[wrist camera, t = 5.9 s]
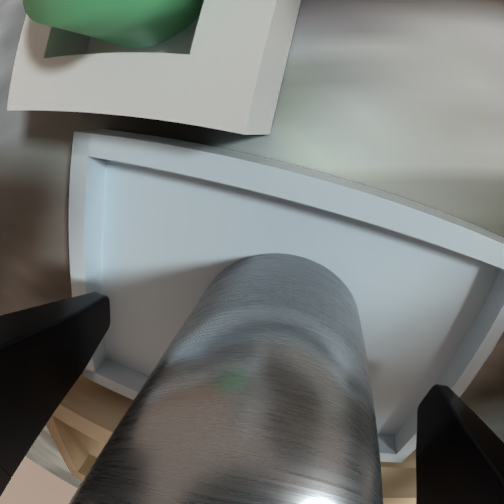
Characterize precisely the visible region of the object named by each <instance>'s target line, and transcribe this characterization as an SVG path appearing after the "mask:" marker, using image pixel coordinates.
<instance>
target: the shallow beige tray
mask: <svg viewBox="0 0 504 504" xmlns="http://www.w3.org/2000/svg"><path fill="white" fill-rule="evenodd" d="M132 402H133V400H132V399H130V398H128V397H125V396H123V395H121V394H119V393H117V392H114V391H112V390H110V389H108V388H106V387H104V386H102V385H100V384H98V383H96V382H94V381H92V380H90V379H88V378H86V377H84V375H83V373H82V374H81V375H80V377H79V378H78V380H77V381H76V382H75V384H74V385H73V386H72V388H71V389H70V391H69V392H68V393H67V395H66V396H65V398H64V399H63V400H62V402H61V403H60V405H59V406H58V408H57V409H56V410H55V412H54V413H53V415H52V416H51V418H50V419H49V421H48V422H47V424H46V425H47V427H48V429H49V432H50V434H51V436H52V438H53V440H54V442H55V444H56V446H57V448H58V450H59V452H60V454H61V456H62V457H63V459H64V461H65V463H66V465H67V467H68V468H69V470H70V472H71V474H72V475H73V476H75V477H77V478H78V479H80V480H82V481H83V480H84V478H85V476H86V475H87V473H88V472H89V470H90V468H91V467H92V465H93V464H94V462H95V460H96V459H97V457H98V456H99V454H100V452H101V451H102V449H103V448H104V446H105V444H106V443H107V441H108V440H109V438H110V437H111V435H112V433H113V432H114V430H115V429H116V427H117V425H118V424H119V422H120V421H121V419H122V418H123V416H124V414H125V413H126V411H127V410H128V408H129V407H130V405H131V403H132ZM380 464H381V477H382V493H383V504H416V451H413V452H412V453H411V454H410V455H409V456H408V457H407V458H406V459H405V460H404V461H403V462H402V463H395V462H380Z"/></svg>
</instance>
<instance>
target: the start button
mask: <svg viewBox="0 0 504 504" xmlns="http://www.w3.org/2000/svg"><path fill="white" fill-rule="evenodd" d="M203 2H204V0H23V5H24V9H25V11H26V13H27V15H28V16H29V18H30V19H31V20H33V21H34V22H36V23H39V24H42V25H47V26H51V27H55V28H59V29H63V30H67V31H71V32H75V33H78V34H82V35H86V36H89V37H92V38H96V39H99V40H102V41H106V42H109V43H112V44H115V45H118V46H121V47H126V48H145V47H150V46H153V45H157V44H160V43H162V42H164V41H167V40H169V39H170V38H172V37H174V36H176V35H177V34H179V33H180V32H182V31H183V30H185V29H186V28H187V27H188V26H190V25H191V24H192V23H193V22H194V21H195V20H196V19H197V18H198V17H199V16H200V13H201V9H202V6H203Z"/></svg>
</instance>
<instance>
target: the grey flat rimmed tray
mask: <svg viewBox="0 0 504 504" xmlns="http://www.w3.org/2000/svg"><path fill="white" fill-rule="evenodd" d="M267 253H282V254H291V255H296V256H301V257H304V258H307V259H309V260H312V261H314V262H316V263H318V264H321V265H323V266H324V267H326V268H327V269H329V270H330V271H332V272H333V273H334V274H335V275H336V276H337V277H339V278H340V279H341V280H342V282H343V283H344V284H345V285H346V286H347V287H348V289H349V291H350V292H351V294H352V295H353V298H354V300H355V302H356V304H357V308H358V312H359V317H360V322H361V327H362V332H363V338H364V343H365V349H366V355H367V361H368V367H369V373H370V379H371V386H372V393H373V400H374V408H375V416H376V424H377V433H378V442H379V452H380V462H395V463H402V462H403V461H404V460H405V459H406V458H407V457H408V456H409V455H410V454H411V453H412V452H413V451H414V450H415V449H416V437H417V409H418V406H419V404H420V402H421V401H422V400H423V398H424V397H425V396H426V394H427V393H428V392H429V390H430V389H431V387H432V386H434V385H436V384H440V385H446V386H448V387H449V388H450V389H451V390H452V391H453V392H454V393H455V394H456V395H457V396H458V397H459V398H460V396H461V395H462V394H463V392H464V391H465V390H466V388H467V387H468V386H469V384H470V383H471V382H472V380H473V379H474V377H475V376H476V375H477V373H478V372H479V370H480V369H481V367H482V366H483V364H484V363H485V361H486V360H487V358H488V357H489V355H490V354H491V352H492V350H493V349H494V347H495V346H496V344H497V342H498V341H499V339H500V337H501V336H502V334H503V332H504V238H503V237H501V236H499V235H497V234H494V233H492V232H490V231H488V230H485V229H483V228H481V227H478V226H476V225H473V224H471V223H469V222H466V221H464V220H461V219H459V218H456V217H454V216H451V215H448V214H446V213H443V212H441V211H438V210H435V209H433V208H430V207H427V206H425V205H422V204H419V203H416V202H414V201H411V200H408V199H405V198H402V197H399V196H396V195H393V194H390V193H387V192H384V191H381V190H378V189H375V188H372V187H369V186H366V185H363V184H359V183H356V182H353V181H350V180H346V179H343V178H340V177H336V176H333V175H329V174H326V173H322V172H319V171H315V170H311V169H308V168H304V167H300V166H296V165H292V164H289V163H285V162H281V161H277V160H272V159H268V158H264V157H260V156H256V155H251V154H247V153H242V152H238V151H233V150H228V149H224V148H219V147H214V146H209V145H204V144H198V143H193V142H188V141H182V140H176V139H170V138H164V137H158V136H152V135H145V134H138V133H131V132H124V131H116V130H108V129H97V130H84V131H74V135H73V145H72V155H71V168H70V186H69V259H70V277H71V290H72V297H76V296H79V295H83V294H87V293H91V292H99V293H101V294H104V295H106V296H108V297H109V300H110V326H109V329H108V331H107V332H106V334H105V336H104V337H103V339H102V341H101V342H100V344H99V346H98V347H97V349H96V351H95V353H94V354H93V356H92V358H91V360H90V361H89V363H88V365H87V366H86V368H85V370H84V371H83V375H84V377H86V378H88V379H90V380H92V381H94V382H96V383H98V384H100V385H102V386H104V387H106V388H108V389H110V390H112V391H114V392H117V393H119V394H121V395H123V396H125V397H128V398H130V399H132V400H134V399H135V397H136V396H137V394H138V393H139V391H140V389H141V388H142V386H143V385H144V383H145V382H146V380H147V379H148V377H149V376H150V374H151V372H152V371H153V369H154V368H155V366H156V365H157V363H158V362H159V360H160V359H161V357H162V356H163V354H164V352H165V351H166V349H167V348H168V346H169V345H170V343H171V342H172V340H173V339H174V337H175V336H176V334H177V333H178V331H179V330H180V328H181V327H182V325H183V324H184V322H185V321H186V319H187V317H188V316H189V314H190V313H191V311H192V310H193V308H194V307H195V305H196V304H197V302H198V301H199V299H200V298H201V296H202V295H203V293H204V292H205V290H206V289H207V287H208V286H209V284H210V283H211V282H212V280H213V279H214V278H215V277H216V276H217V275H218V274H219V273H220V272H221V271H222V270H224V269H225V268H226V267H228V266H230V265H231V264H233V263H235V262H237V261H239V260H241V259H244V258H247V257H250V256H254V255H260V254H267Z"/></svg>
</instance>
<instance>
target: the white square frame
mask: <svg viewBox="0 0 504 504" xmlns="http://www.w3.org/2000/svg"><path fill="white" fill-rule="evenodd" d="M300 3H301V0H204V2H203V6H202V9H201V13H200V16H199V17H198V18H197V19H196V20H195V21H194V22H193V23H192V24H191V25H190V26H188V27H187V28H186V29H185V30H183V31H182V32H180V33H179V34H177V35H176V36H174V37H172V38H170V39H169V40H167V41H164V42H162V43H160V44H157V45H153V46H150V47H145V48H126V47H121V46H118V45H115V44H112V43H109V42H106V41H102V40H99V39H96V38H92V37H89V36H86V35H82V34H78V33H75V32H71V31H67V30H63V29H59V28H55V27H51V26H47V25H42V24H39V23H36V22H34V21H33V20H31V19H30V18H29V16H28V15H26V19H25V22H24V26H23V29H22V33H21V37H20V41H19V45H18V49H17V53H16V58H15V62H14V67H13V73H12V78H11V84H10V90H9V97H8V104H7V110H38V111H68V112H85V113H99V114H110V115H121V116H130V117H139V118H147V119H155V120H162V121H169V122H176V123H183V124H189V125H195V126H201V127H207V128H212V129H218V130H223V131H228V132H233V133H238V134H243V135H270V131H271V126H272V122H273V118H274V113H275V109H276V105H277V101H278V96H279V92H280V88H281V83H282V79H283V75H284V71H285V66H286V62H287V58H288V54H289V49H290V45H291V41H292V37H293V32H294V28H295V24H296V20H297V16H298V11H299V7H300Z"/></svg>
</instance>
